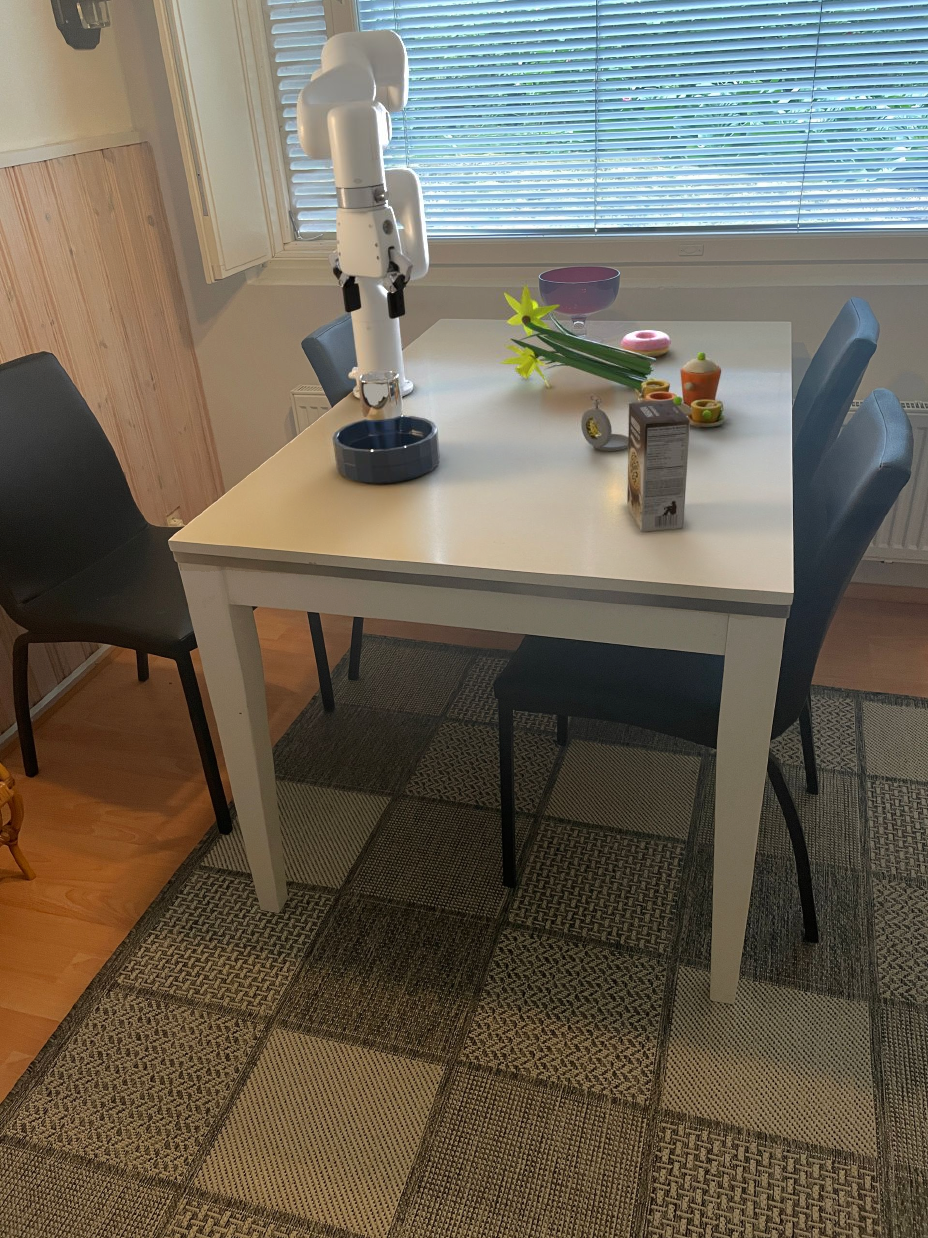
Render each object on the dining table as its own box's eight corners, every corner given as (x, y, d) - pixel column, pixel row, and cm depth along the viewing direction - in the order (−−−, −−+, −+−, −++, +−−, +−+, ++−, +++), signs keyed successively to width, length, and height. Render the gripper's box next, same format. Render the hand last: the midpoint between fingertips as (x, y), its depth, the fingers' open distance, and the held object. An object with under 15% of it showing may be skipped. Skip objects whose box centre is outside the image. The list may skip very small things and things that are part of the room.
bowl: (316, 473, 161) (311, 439, 158) (385, 441, 173) (382, 409, 170) (392, 493, 151) (387, 458, 148) (460, 458, 163) (457, 424, 160)
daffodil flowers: (631, 408, 182) (469, 352, 190) (637, 424, 196) (485, 370, 204) (665, 325, 180) (499, 271, 188) (668, 346, 194) (514, 296, 202)
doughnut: (615, 358, 209) (615, 339, 207) (627, 345, 217) (628, 326, 215) (664, 360, 205) (665, 341, 203) (675, 346, 213) (675, 328, 211)
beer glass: (402, 470, 158) (393, 382, 150) (363, 469, 160) (351, 382, 152) (412, 455, 164) (404, 369, 156) (374, 454, 165) (364, 369, 158)
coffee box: (625, 507, 141) (627, 401, 132) (667, 502, 141) (672, 397, 133) (640, 533, 133) (643, 422, 125) (685, 528, 133) (691, 418, 125)
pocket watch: (633, 440, 164) (634, 383, 159) (624, 457, 158) (625, 399, 153) (587, 437, 167) (587, 382, 162) (576, 454, 160) (576, 397, 155)
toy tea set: (633, 396, 185) (634, 347, 180) (713, 392, 184) (717, 343, 179) (645, 443, 163) (647, 388, 158) (737, 439, 161) (742, 384, 156)
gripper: (421, 195, 140) (431, 313, 149) (339, 192, 149) (353, 303, 158) (387, 204, 135) (399, 325, 144) (304, 199, 145) (320, 313, 153)
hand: (375, 313), depth 151 cm, fingers open, 9 cm apart
